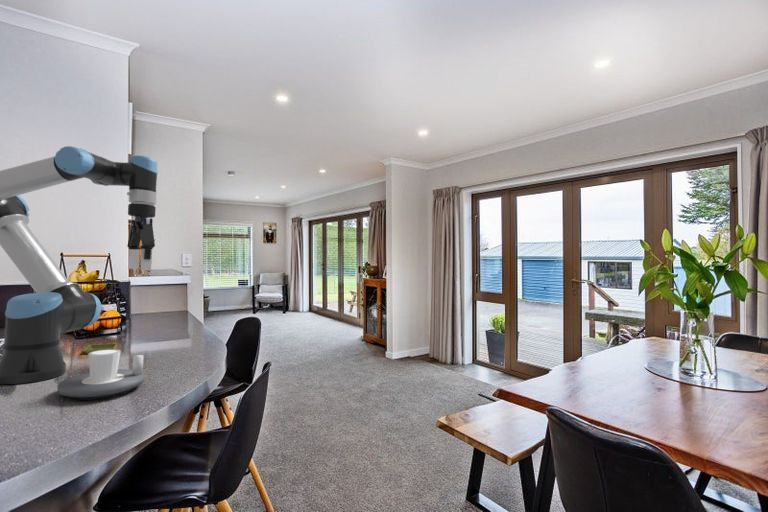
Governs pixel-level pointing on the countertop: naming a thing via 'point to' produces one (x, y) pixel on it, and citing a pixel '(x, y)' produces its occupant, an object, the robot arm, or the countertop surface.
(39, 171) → the robot arm
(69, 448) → the countertop surface
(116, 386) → the disc
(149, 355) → the countertop surface
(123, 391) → the base
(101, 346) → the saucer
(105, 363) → the white cup
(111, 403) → the countertop surface
